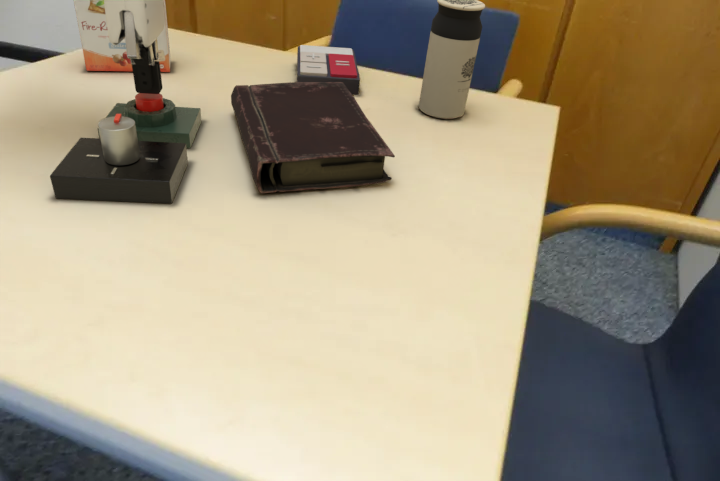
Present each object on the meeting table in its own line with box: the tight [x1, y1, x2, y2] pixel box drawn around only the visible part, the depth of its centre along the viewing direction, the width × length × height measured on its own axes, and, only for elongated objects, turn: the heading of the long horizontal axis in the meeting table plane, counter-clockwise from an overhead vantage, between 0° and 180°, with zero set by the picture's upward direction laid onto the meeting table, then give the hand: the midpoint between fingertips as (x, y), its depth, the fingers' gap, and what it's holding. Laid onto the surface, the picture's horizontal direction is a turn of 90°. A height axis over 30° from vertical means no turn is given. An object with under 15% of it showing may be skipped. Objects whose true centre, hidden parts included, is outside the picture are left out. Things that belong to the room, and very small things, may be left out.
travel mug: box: [418, 0, 486, 120], centre depth 91 cm, size 8×8×18 cm
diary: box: [230, 81, 396, 194], centre depth 79 cm, size 19×25×5 cm
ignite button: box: [134, 92, 164, 112], centre depth 77 cm, size 4×4×2 cm
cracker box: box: [73, 0, 172, 73], centre depth 94 cm, size 14×6×21 cm, turn 104°
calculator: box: [296, 44, 361, 96], centre depth 103 cm, size 11×4×15 cm
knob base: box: [49, 137, 189, 205], centre depth 67 cm, size 13×10×3 cm
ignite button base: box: [97, 97, 202, 149], centre depth 79 cm, size 12×9×4 cm
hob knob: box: [97, 114, 140, 166], centre depth 65 cm, size 4×4×5 cm
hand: (149, 91), depth 76 cm, fingers closed
